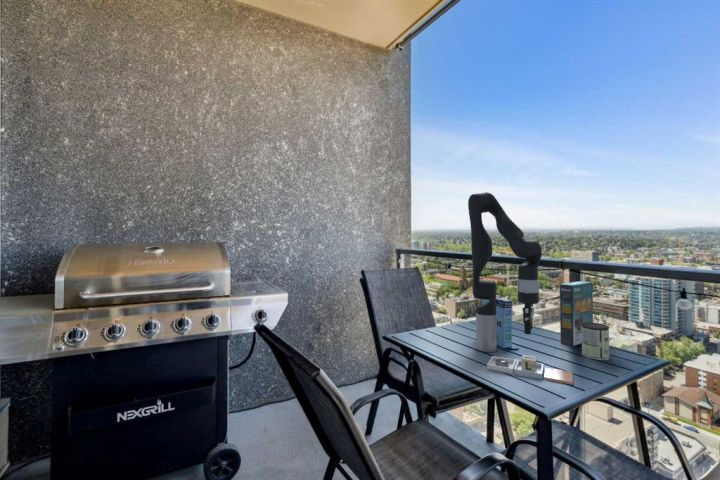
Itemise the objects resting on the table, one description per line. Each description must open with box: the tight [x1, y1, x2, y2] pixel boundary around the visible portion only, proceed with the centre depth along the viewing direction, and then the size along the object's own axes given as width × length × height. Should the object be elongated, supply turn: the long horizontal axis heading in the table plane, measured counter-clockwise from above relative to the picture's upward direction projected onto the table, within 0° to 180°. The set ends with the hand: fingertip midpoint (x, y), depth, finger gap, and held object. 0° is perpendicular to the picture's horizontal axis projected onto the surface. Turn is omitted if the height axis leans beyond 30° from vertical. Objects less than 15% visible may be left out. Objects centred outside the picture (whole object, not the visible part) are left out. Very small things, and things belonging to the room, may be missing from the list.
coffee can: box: [581, 322, 610, 361], centre depth 150 cm, size 10×10×14 cm
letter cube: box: [520, 354, 538, 372], centre depth 133 cm, size 5×5×5 cm
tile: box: [543, 367, 574, 386], centre depth 128 cm, size 11×9×1 cm
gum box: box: [480, 296, 513, 349], centre depth 173 cm, size 20×5×23 cm, turn 13°
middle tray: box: [513, 359, 545, 381], centre depth 133 cm, size 12×10×2 cm
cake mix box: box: [559, 280, 594, 347], centre depth 174 cm, size 22×6×30 cm, turn 123°
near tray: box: [486, 355, 518, 375], centre depth 138 cm, size 12×10×2 cm
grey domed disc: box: [496, 359, 509, 367], centre depth 138 cm, size 5×5×2 cm
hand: (528, 331), depth 133 cm, fingers open, 8 cm apart
